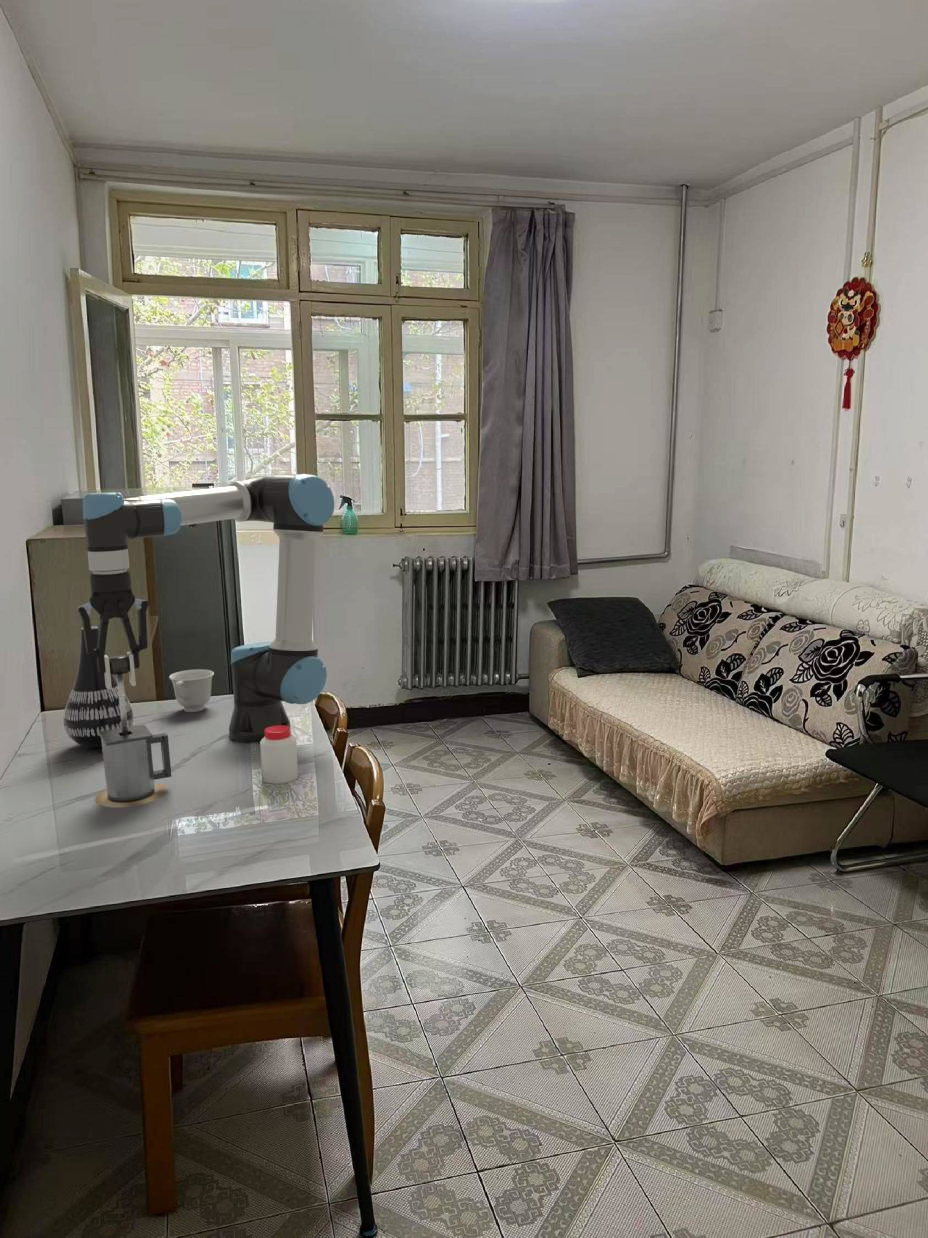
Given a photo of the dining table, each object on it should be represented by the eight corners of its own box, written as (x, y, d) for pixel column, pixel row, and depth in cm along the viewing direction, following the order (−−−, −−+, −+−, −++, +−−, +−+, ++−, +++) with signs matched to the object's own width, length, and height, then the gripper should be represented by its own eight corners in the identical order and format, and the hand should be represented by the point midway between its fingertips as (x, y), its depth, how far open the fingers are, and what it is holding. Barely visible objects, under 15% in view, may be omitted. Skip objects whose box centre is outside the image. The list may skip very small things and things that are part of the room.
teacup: (158, 718, 249) (155, 682, 247) (184, 703, 263) (181, 668, 261) (200, 719, 247) (197, 682, 245) (223, 703, 261) (221, 669, 259)
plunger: (141, 742, 194) (133, 652, 190) (148, 751, 188) (140, 658, 184) (105, 748, 190) (96, 656, 187) (111, 758, 184) (102, 663, 181)
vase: (136, 732, 236) (125, 619, 231) (135, 751, 221) (123, 630, 216) (69, 740, 231) (56, 624, 226) (63, 759, 217) (50, 636, 211)
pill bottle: (305, 774, 203) (302, 725, 201) (284, 785, 196) (281, 736, 194) (276, 769, 206) (273, 722, 204) (255, 781, 199) (251, 732, 197)
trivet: (159, 781, 200) (159, 777, 200) (173, 801, 188) (173, 798, 188) (90, 794, 194) (90, 790, 193) (101, 816, 182) (100, 812, 181)
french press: (166, 780, 199) (161, 721, 196) (176, 793, 191) (170, 732, 188) (104, 792, 192) (98, 731, 190) (111, 806, 185) (105, 743, 182)
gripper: (150, 565, 190) (160, 676, 194) (61, 573, 181) (73, 688, 186) (157, 569, 183) (167, 683, 187) (65, 577, 175) (78, 696, 179)
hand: (120, 685), depth 187 cm, fingers closed on plunger, 4 cm apart
